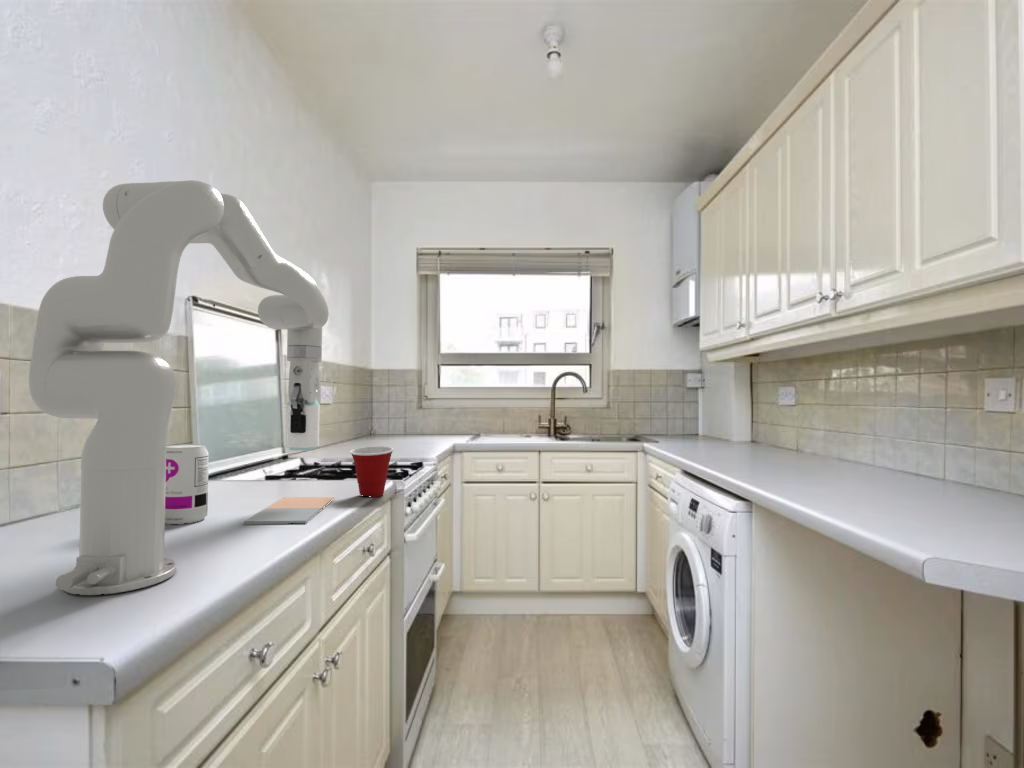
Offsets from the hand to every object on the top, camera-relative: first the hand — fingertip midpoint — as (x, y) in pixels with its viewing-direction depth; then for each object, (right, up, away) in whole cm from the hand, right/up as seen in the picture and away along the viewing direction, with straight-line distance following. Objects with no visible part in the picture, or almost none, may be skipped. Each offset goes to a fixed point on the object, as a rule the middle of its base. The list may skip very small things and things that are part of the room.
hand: (303, 431), depth 124 cm
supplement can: (-18, -17, -16) cm, 29 cm away
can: (0, -4, 0) cm, 4 cm away
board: (0, -17, -6) cm, 18 cm away
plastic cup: (+13, -18, +12) cm, 25 cm away
